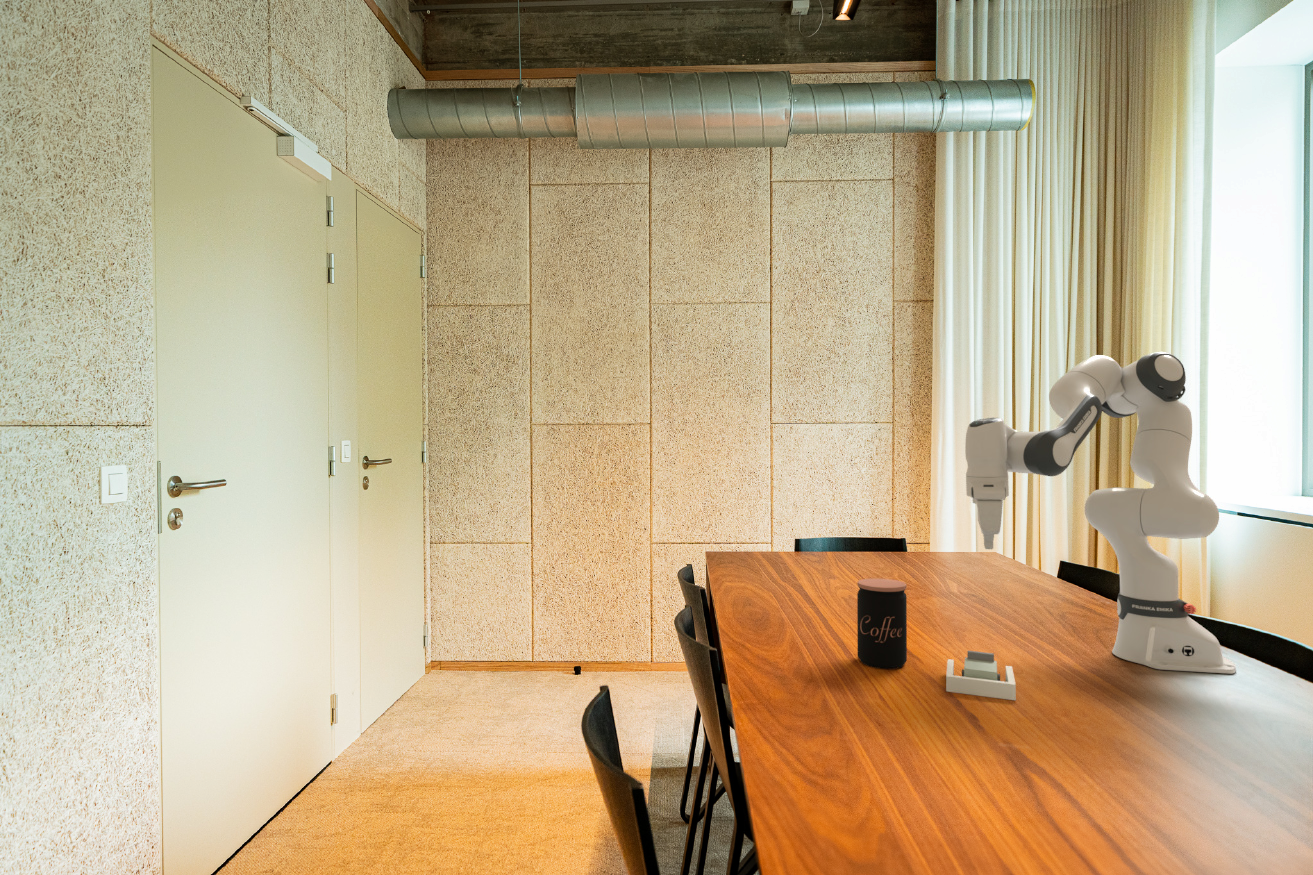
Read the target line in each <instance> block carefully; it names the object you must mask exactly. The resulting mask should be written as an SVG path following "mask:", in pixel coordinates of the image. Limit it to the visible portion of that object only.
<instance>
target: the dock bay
mask: <svg viewBox="0 0 1313 875" xmlns="http://www.w3.org/2000/svg"><path fill="white" fill-rule="evenodd" d="M954 664H955V660H954V659H951V658H949V659H948V658H947V662H946V676H945V680H946V681H945V682H946V683H945V685H946V686H945V687H946V688H945V691H946V692H950V693H956V694H964V695H971V696H980V697H986V698H994V699H1000V700H1001V699H1003V700H1010V701H1016V700H1017V698H1016V697H1017V696H1016V694H1017V691H1016V690H1017V689H1016V688H1017V686H1016V680H1015V674H1014V671H1013V670H1014V669H1013V666H1012V665H1005V681H1004V680H1000V681H996V680H987V679H979V678H971V677H963V676H962V675H961V676H960V675H956V674H955V669H954V668H955V665H954Z"/></svg>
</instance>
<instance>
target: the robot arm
mask: <svg viewBox="0 0 1313 875" xmlns="http://www.w3.org/2000/svg"><path fill="white" fill-rule="evenodd" d="M1185 370H1186V369H1185V367H1184V365H1183V363H1182V362H1181V360H1180V359H1178V358H1177V356H1176V355H1174V354H1172V353H1170V352H1167V351H1156V352H1151V353H1149V354H1146V355H1143V356H1141V357H1140V358H1139V359H1137V360H1135V361H1133V362H1132V363H1130V364H1128V365H1126V366H1123V367H1122V366H1120V364H1119V363H1118V362H1117V361H1116V360H1114V358H1112V357H1110V356H1107V355H1101V354H1097V355H1091V356H1090V357H1087V358H1086V359H1084V360H1082V361H1081V362H1079V363H1078V364H1076V365H1075V366H1073V367H1072V368H1071V369H1069V370H1068V371H1067V372H1066V373H1064V374H1063V375H1062V376H1061V377H1060V378H1059V379H1057V381H1056V382H1055V383H1054V384H1053V386H1052V387H1051V388H1050V390H1049V394H1048V399H1049V405H1050V406H1051V409H1052V410H1053V411H1054V412H1055V414H1057V416H1059V417H1060V418H1061V419H1062V420H1061V421H1060V423H1059V424H1058V425H1057V426H1056V427H1055V428H1052V429H1049V430H1044V431H1043V430H1042V431H1018V430H1017V429H1015V428H1012V427H1010V426H1008V425H1007V424H1006V423H1005V421H1004V419H1003V418H1000V417H987V418H980V419H976V420H974V421H972V422H970V423H969V424H968V426H967V429H966V433H965V434H966V435H965V443H964V444H965V450H964V451H965V460H966V463H967V470H966V473H965V478H966V479H965V483H966V484H965V486H966V487H965V488H966V496H967V497H970V498H971V499H972V503H973V504H976V508H977V522H978V525H979V528H980V531H981V534H982V536H983V546H984V549H985V550H993V549H994V538H995V535H999V534H1000V532H1001V527H1002V514H1003V503H1004V502H1003V501H1004V500H1006V498H1007V497H1009V492H1010V491H1009V488H1010V487H1009V472H1010V473H1019V474H1036V475H1040V476H1044V477H1045V476H1046V477H1056V476H1059V475H1061V474H1062V473H1064V472H1065V471H1066V470H1067V469H1068V467H1069V466H1070V464H1071V462H1072V461H1073V457H1074V455H1075V453H1076V451H1077V450H1078V448H1079V446H1081V444H1082V443H1083V441H1084V440H1085V439H1086V438H1087V436H1089V433H1090V432H1091V431H1092V429H1093V428H1094V427H1095V426H1096V424H1098V423H1097V422H1098V421H1099V420H1100V418H1101V416H1102V412H1103V413H1104V414H1105V415H1107V416H1108V417H1111V418H1115V419H1121V418H1126V417H1131V416H1133V415H1135V414H1136V415H1137V420H1138V426H1137V427H1136V428H1137V429H1136V432H1135V436H1134V440H1133V441H1134V442H1133V446H1132V450H1131V455H1130V460H1129V466H1130V468H1131V470H1132V472H1133V474H1135V475H1136V476H1137V477H1139V478H1140V479H1142V480H1143V481H1146V482H1148V483H1150V484H1153V487H1148V488H1144V487H1143V488H1140V487H1118V486H1117V487H1107V488H1102V489H1101V488H1100V489H1095V490H1094V491H1092V492H1091V493H1090V494H1089V496H1088V497H1087V498H1086V501H1085V503H1084V515H1085V517H1086V519H1087V522H1088V524H1089V525H1090V526H1091V527H1092V528H1094V529H1095V530H1097V531H1098V532H1099V533H1100V534H1102V536H1103V537H1105V539H1106V540H1107V541H1108V542H1109V544H1110V546H1111V547H1112V549H1113V551H1114V553H1115V556H1116V558H1117V562H1118V563H1117V564H1118V572H1119V593H1118V594H1117V599H1116V600H1117V601H1116V602H1117V605H1116V607H1117V608H1116V610H1117V611H1116V612H1117V617H1118V626H1117V634H1116V638H1115V639H1116V640H1115V643H1114V646H1113V648H1112V650H1111V651H1112V652H1111V653H1112V654H1113V655H1115V656H1116V657H1118V658H1120V659H1123V660H1124V661H1125V660H1126V661H1128V662H1132V663H1137V664H1140V665H1144V666H1147V667H1150V668H1152V669H1156V670H1165V671H1181V672H1182V671H1183V672H1198V673H1211V674H1213V673H1214V674H1215V673H1216V674H1217V673H1218V674H1231V675H1232V674H1235V673H1236V672H1237V669H1236V665H1235V663H1234V662H1232V660H1230V659H1228V658H1227V657H1225V656H1223V651H1222V648H1221V644H1220V642H1219V640H1218V639H1217V637H1216V636H1215V635H1214V634H1213V633H1212V632H1210V631H1209V630H1208V629H1206V628H1205V627H1203V625H1201V624H1199V623H1198V622H1197V621H1195V620H1194V619H1192V618H1191V617H1190V616H1189V615H1194V614H1195V613H1197V607H1196V606H1195V605H1193V604H1192V603H1188V602H1186V601H1185V600H1182V599H1181V598H1179V568H1178V566H1177V564H1176V562H1175V561H1174V560H1173V559H1171V557H1169V556H1167V555H1166V554H1163V553H1162V552H1160V551H1158V550H1156V549H1154V548H1153V547H1152V545H1151V543H1150V542H1149V540H1148V537H1155V538H1165V539H1166V538H1167V539H1176V540H1177V539H1178V540H1187V539H1198V538H1199V539H1200V538H1207V537H1208V536H1210V535H1211V534H1213V533H1214V531H1215V529H1216V528H1217V526H1218V524H1219V522H1220V512H1219V508H1218V506H1217V504H1216V502H1215V501H1214V500H1213V499H1212V498H1211V496H1209V495H1207V494H1206V493H1204V492H1203V491H1201V490H1200V489H1199V488H1198V487H1196V486H1195V484H1194V483H1193V482H1192V480H1191V478H1190V474H1189V457H1190V452H1191V451H1190V450H1191V444H1192V437H1193V420H1192V417H1193V416H1192V412H1191V409H1190V408H1189V407H1188V406H1187V405H1186V404H1185V403H1183V402H1181V401H1179V400H1180V399H1181V398H1182V397H1183V396H1184V394H1185V393H1186V387H1185V384H1186V380H1187V378H1186V371H1185Z"/></svg>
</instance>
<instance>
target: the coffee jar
mask: <svg viewBox="0 0 1313 875" xmlns="http://www.w3.org/2000/svg"><path fill="white" fill-rule="evenodd" d="M857 587H858V588H859V589H858V590H857V594H856V596H857V597H856V598H857V599H856V600H857V601H856V602H857V603H856V604H857V609H856V612H857V613H856V614H857V619H856V620H857V624H856V626H857V658H858V659H859V661H860V662H861V664H863V665H865V666H866V667H869V668H873V669H874V668H875V669H880V670H881V669H882V670H895V669H900V668H902V667H903V666H904V665H905V664H906V662H907V660H908V654H907V652H908V647H907V646H908V642H907V641H908V640H907V638H908V636H907V634H908V633H907V631H908V630H907V629H908V628H907V623H908V622H907V620H908V618H907V616H908V615H907V610H908V609H907V607H908V606H907V599H908V598H907V594H906V593H905V591H906V590H907V584H906V583H905V582H904V581H900V580H896V579H890V578H864V579H859V580H858V581H857Z"/></svg>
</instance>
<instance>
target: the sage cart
mask: <svg viewBox="0 0 1313 875" xmlns="http://www.w3.org/2000/svg"><path fill="white" fill-rule="evenodd" d="M997 663H998V662H997V660H995V654H994V652H993V653H992V652H983V651H974V650H967V656H966V657H965V658H964V664H963V666H964V667H963V668H962V669H961V676H963V677H971V678H979V679H987V680H996V681H1001V674H1000V673H998V664H997Z"/></svg>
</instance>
